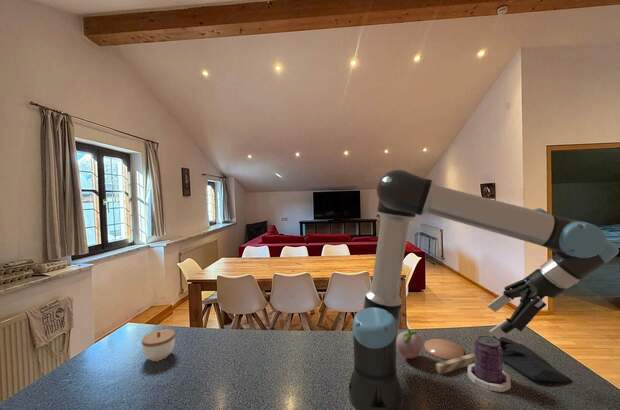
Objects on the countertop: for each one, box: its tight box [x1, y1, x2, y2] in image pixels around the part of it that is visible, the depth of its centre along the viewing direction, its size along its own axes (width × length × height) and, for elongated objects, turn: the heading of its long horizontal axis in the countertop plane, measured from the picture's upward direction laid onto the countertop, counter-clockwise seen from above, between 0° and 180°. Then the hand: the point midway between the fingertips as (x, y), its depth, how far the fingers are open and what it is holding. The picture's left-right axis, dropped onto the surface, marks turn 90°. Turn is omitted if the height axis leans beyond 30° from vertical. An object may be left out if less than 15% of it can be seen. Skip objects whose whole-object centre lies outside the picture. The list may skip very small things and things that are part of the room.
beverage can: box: [474, 334, 503, 384], centre depth 85 cm, size 7×7×12 cm
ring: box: [466, 363, 512, 393], centre depth 85 cm, size 11×12×2 cm
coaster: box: [424, 338, 465, 361], centre depth 102 cm, size 13×13×1 cm
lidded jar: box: [141, 328, 176, 362], centre depth 102 cm, size 11×11×9 cm
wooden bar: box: [435, 352, 475, 375], centre depth 92 cm, size 18×2×2 cm, turn 110°
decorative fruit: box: [396, 329, 423, 360], centre depth 97 cm, size 9×8×10 cm
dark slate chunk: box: [492, 335, 573, 384], centre depth 93 cm, size 15×22×5 cm
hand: (492, 321), depth 86 cm, fingers open, 13 cm apart
